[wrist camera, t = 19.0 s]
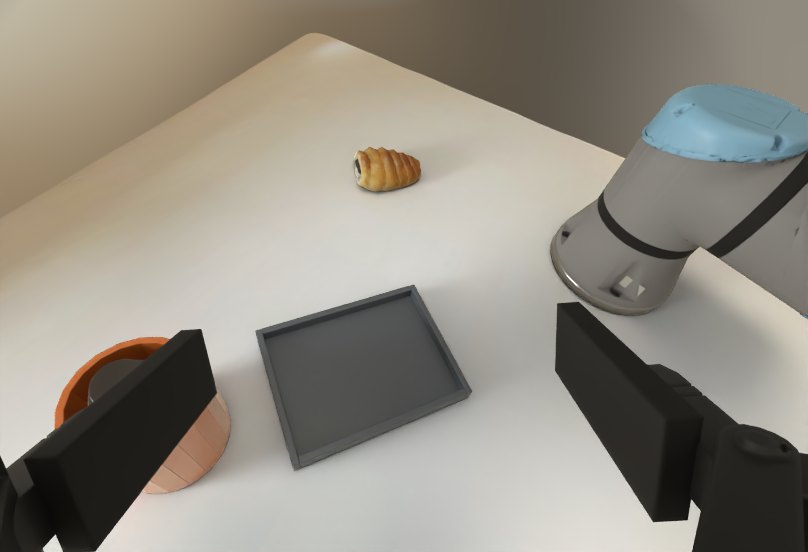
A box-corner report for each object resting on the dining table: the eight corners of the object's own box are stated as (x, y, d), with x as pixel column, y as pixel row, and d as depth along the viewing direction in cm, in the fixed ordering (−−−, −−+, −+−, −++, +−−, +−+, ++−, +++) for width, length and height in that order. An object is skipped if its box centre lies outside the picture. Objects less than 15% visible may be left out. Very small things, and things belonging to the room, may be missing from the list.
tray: (411, 292, 47) (414, 284, 46) (467, 398, 41) (472, 391, 39) (257, 338, 41) (255, 330, 40) (294, 471, 35) (292, 466, 33)
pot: (220, 370, 39) (195, 322, 32) (240, 465, 34) (217, 434, 27) (109, 405, 36) (55, 360, 29) (116, 514, 31) (53, 494, 24)
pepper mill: (195, 399, 36) (153, 341, 28) (203, 448, 34) (160, 401, 26) (139, 418, 35) (75, 363, 26) (144, 470, 33) (77, 429, 24)
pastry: (412, 159, 62) (416, 138, 59) (425, 191, 58) (431, 169, 55) (349, 163, 59) (351, 141, 56) (359, 196, 56) (361, 174, 52)
